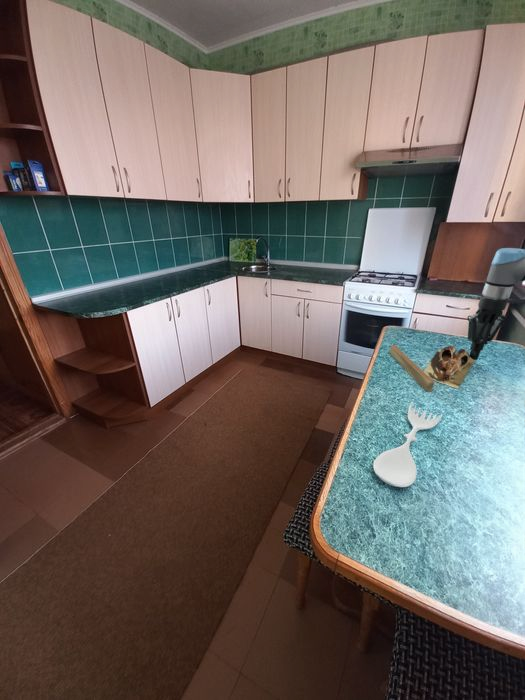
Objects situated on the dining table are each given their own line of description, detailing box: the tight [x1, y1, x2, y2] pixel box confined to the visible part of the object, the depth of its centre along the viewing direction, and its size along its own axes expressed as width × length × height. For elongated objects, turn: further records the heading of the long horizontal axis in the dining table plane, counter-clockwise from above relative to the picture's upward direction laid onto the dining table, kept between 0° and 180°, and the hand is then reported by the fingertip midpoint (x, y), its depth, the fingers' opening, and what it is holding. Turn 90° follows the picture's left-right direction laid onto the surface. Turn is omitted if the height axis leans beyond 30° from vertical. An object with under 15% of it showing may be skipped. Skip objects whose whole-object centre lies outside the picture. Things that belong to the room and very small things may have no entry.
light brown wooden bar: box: [389, 344, 435, 392], centre depth 108 cm, size 2×28×4 cm, turn 3°
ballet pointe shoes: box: [422, 345, 476, 390], centre depth 109 cm, size 14×7×28 cm
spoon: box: [372, 402, 443, 488], centre depth 74 cm, size 9×32×4 cm, turn 139°
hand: (473, 358), depth 108 cm, fingers closed
